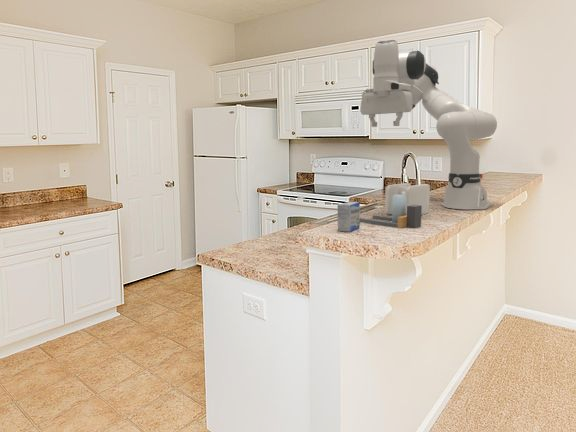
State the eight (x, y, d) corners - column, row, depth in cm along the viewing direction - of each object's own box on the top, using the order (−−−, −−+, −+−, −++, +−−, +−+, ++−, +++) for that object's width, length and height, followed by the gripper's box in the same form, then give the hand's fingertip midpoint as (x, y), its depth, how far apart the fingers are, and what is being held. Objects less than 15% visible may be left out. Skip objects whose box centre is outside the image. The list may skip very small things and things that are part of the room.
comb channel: (375, 218, 170) (375, 199, 169) (425, 225, 156) (426, 204, 155) (358, 221, 163) (358, 202, 162) (409, 229, 149) (410, 207, 148)
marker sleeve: (396, 222, 161) (397, 194, 159) (407, 224, 157) (408, 195, 156) (389, 224, 158) (390, 195, 156) (400, 226, 154) (401, 196, 153)
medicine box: (349, 232, 146) (350, 205, 144) (337, 231, 148) (337, 204, 147) (359, 228, 152) (360, 202, 151) (347, 226, 155) (347, 201, 153)
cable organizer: (406, 218, 169) (407, 186, 167) (383, 215, 177) (384, 184, 175) (429, 213, 179) (430, 183, 177) (406, 210, 187) (407, 182, 185)
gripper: (357, 89, 171) (356, 127, 173) (405, 83, 156) (404, 125, 159) (367, 90, 175) (366, 127, 178) (415, 85, 161) (414, 125, 163)
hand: (385, 126), depth 168 cm, fingers open, 8 cm apart
